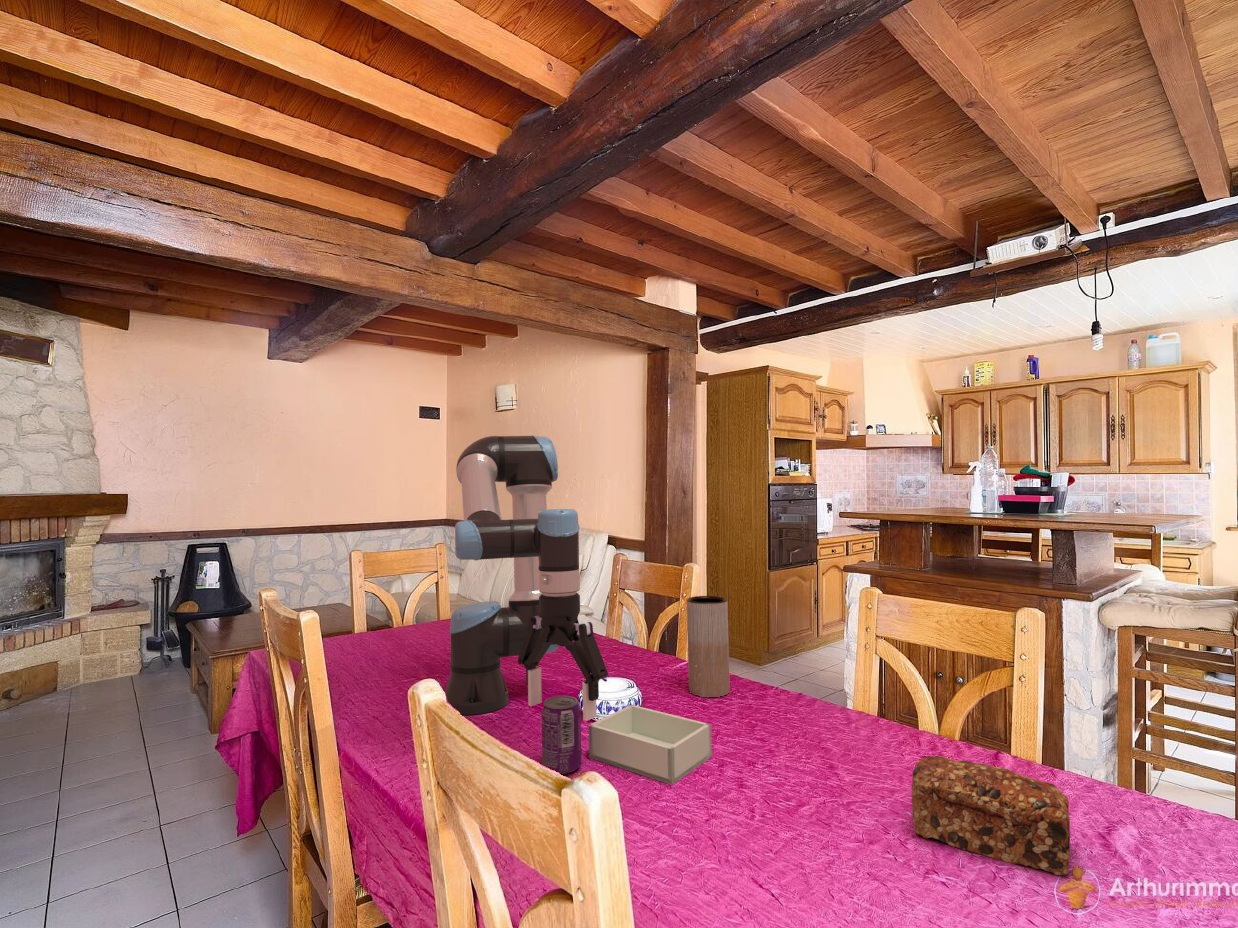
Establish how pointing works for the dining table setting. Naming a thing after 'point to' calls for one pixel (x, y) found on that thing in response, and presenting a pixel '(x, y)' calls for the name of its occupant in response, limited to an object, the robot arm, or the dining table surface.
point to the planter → (708, 646)
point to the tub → (650, 743)
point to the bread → (992, 812)
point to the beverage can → (561, 734)
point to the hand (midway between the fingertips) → (561, 711)
